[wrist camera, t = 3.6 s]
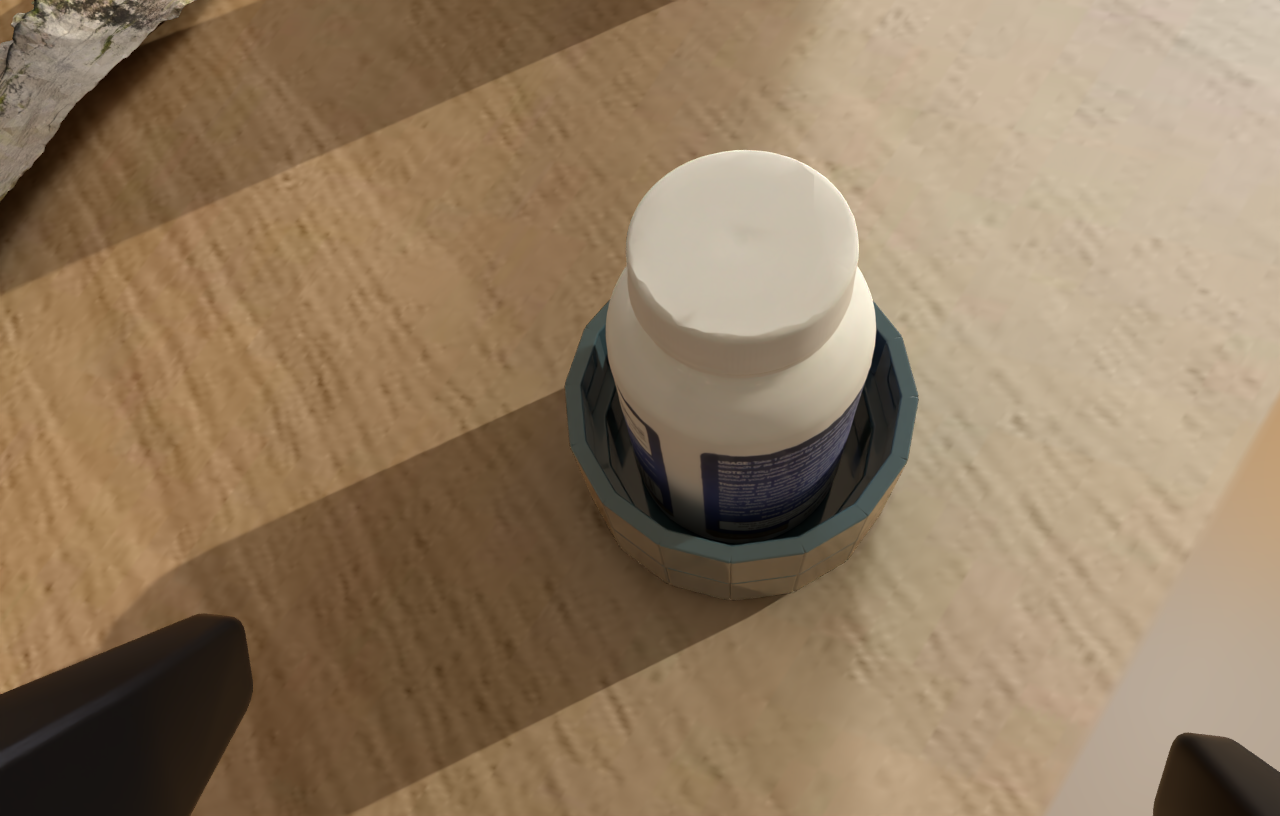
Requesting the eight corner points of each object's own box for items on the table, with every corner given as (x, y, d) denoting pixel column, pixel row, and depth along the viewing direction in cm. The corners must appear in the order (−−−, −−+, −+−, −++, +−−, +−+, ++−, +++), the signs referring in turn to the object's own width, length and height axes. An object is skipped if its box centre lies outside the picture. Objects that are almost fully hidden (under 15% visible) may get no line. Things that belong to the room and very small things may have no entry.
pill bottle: (867, 403, 24) (948, 167, 15) (792, 581, 22) (835, 430, 13) (687, 335, 25) (665, 82, 17) (602, 497, 24) (528, 310, 15)
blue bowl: (944, 424, 24) (983, 355, 20) (773, 666, 22) (782, 637, 18) (706, 279, 26) (702, 194, 23) (531, 482, 24) (496, 424, 21)
